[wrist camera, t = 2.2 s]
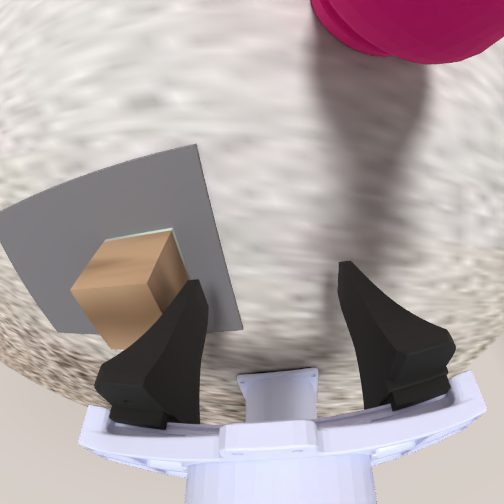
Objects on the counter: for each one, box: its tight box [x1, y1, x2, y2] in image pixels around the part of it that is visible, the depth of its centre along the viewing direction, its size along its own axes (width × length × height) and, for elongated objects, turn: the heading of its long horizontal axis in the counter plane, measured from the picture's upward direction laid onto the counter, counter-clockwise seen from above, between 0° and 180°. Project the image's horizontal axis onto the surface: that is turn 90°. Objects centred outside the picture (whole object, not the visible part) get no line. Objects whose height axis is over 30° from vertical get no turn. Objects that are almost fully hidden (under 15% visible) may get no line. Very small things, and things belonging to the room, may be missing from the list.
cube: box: [70, 228, 191, 350], centre depth 15 cm, size 5×5×5 cm
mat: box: [0, 144, 243, 334], centre depth 18 cm, size 14×20×1 cm
